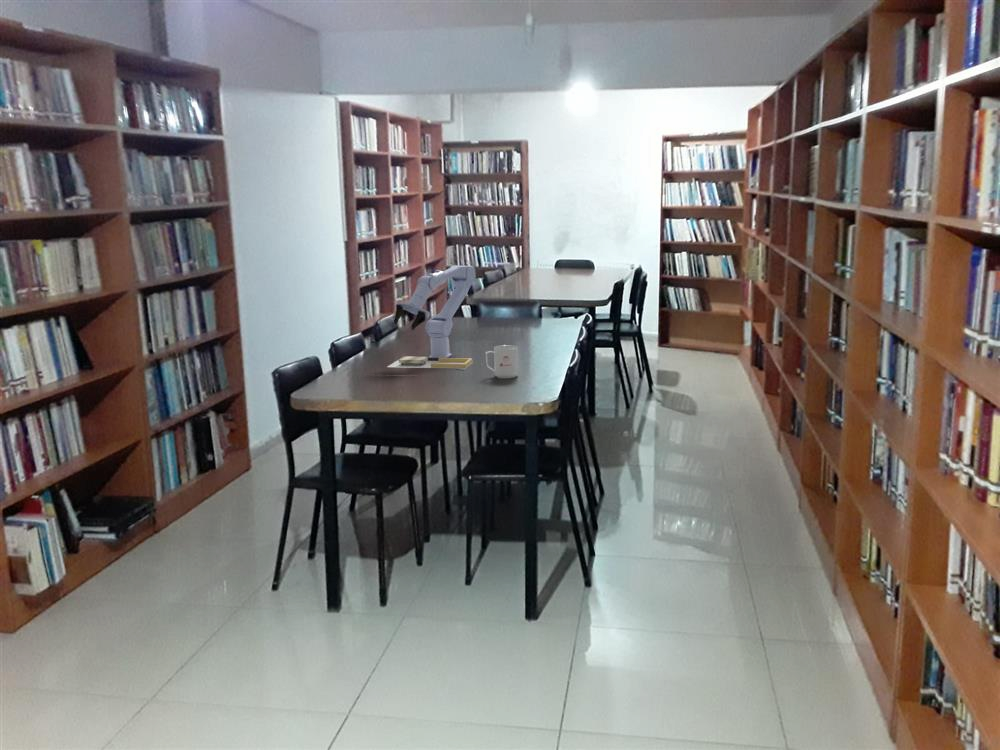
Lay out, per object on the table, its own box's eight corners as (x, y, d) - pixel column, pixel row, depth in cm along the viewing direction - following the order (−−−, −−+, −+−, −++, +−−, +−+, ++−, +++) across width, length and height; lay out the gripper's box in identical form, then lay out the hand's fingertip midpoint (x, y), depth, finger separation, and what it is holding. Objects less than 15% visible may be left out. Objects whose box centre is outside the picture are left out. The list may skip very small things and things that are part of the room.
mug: (517, 373, 333) (516, 344, 331) (519, 378, 324) (518, 348, 322) (485, 374, 332) (484, 345, 330) (486, 379, 324) (485, 349, 321)
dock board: (397, 361, 362) (397, 356, 361) (473, 362, 356) (472, 357, 355) (386, 368, 348) (386, 363, 348) (464, 369, 342) (464, 364, 342)
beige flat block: (398, 365, 351) (398, 359, 350) (404, 362, 358) (403, 356, 357) (423, 365, 349) (422, 360, 348) (427, 362, 356) (427, 356, 355)
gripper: (400, 288, 352) (385, 314, 345) (433, 299, 348) (418, 325, 342) (403, 299, 358) (388, 324, 351) (435, 309, 354) (420, 335, 348)
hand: (403, 325), depth 347 cm, fingers open, 7 cm apart
